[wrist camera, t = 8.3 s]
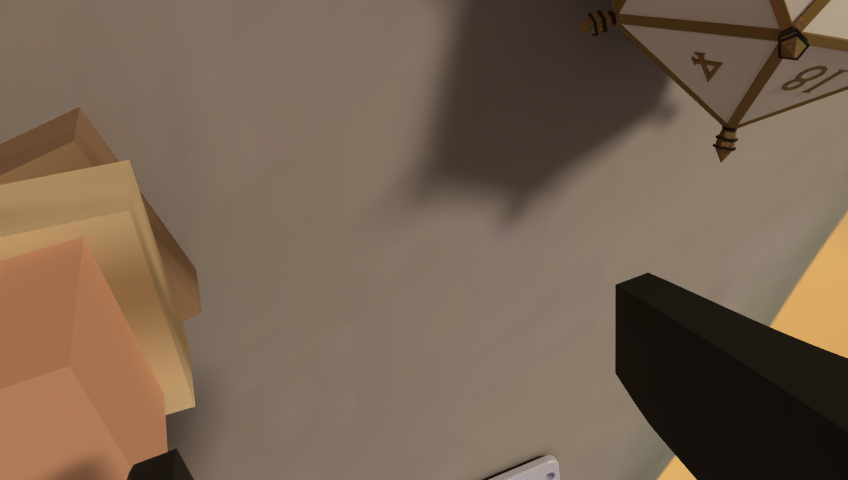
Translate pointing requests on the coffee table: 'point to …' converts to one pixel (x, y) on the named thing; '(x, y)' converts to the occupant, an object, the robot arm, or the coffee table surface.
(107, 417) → the terracotta block
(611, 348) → the coffee table surface
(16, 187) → the oak slab
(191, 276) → the walnut slab
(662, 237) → the coffee table surface
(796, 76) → the game die
